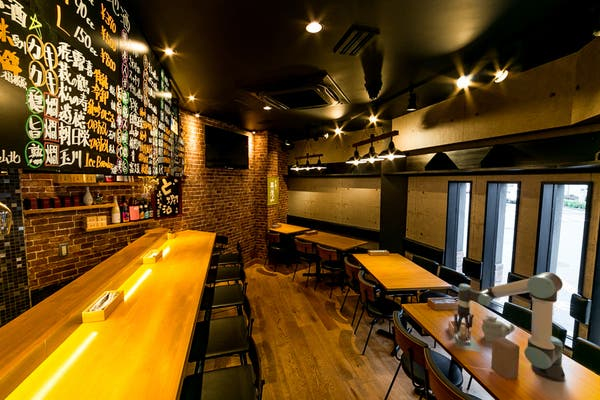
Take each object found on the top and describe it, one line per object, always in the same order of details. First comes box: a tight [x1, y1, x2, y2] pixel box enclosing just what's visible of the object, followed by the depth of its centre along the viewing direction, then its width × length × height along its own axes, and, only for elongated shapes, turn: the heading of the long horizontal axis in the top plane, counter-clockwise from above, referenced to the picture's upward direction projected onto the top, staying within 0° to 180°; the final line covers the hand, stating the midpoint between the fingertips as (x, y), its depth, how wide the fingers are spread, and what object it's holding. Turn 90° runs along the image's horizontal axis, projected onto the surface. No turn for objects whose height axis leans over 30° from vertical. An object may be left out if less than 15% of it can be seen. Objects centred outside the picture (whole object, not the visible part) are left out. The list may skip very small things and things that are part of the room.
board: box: [446, 327, 483, 353], centre depth 192 cm, size 27×16×1 cm, turn 163°
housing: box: [447, 320, 472, 340], centre depth 198 cm, size 12×12×7 cm
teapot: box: [481, 315, 516, 343], centre depth 190 cm, size 16×15×19 cm
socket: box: [455, 334, 471, 345], centre depth 190 cm, size 8×8×2 cm
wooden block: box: [490, 337, 521, 380], centre depth 158 cm, size 10×10×20 cm
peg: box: [459, 325, 466, 341], centre depth 190 cm, size 4×4×10 cm
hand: (462, 335), depth 190 cm, fingers closed on peg, 4 cm apart
